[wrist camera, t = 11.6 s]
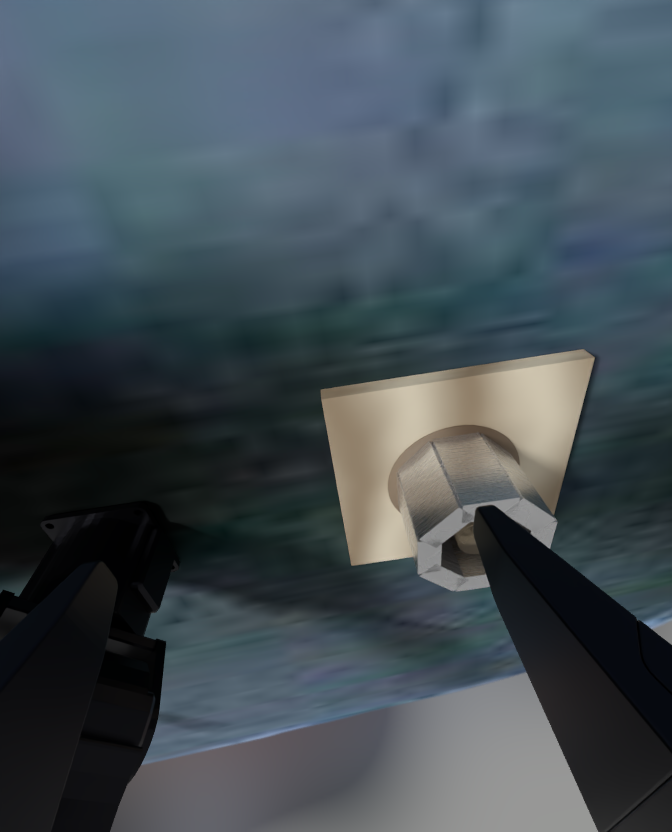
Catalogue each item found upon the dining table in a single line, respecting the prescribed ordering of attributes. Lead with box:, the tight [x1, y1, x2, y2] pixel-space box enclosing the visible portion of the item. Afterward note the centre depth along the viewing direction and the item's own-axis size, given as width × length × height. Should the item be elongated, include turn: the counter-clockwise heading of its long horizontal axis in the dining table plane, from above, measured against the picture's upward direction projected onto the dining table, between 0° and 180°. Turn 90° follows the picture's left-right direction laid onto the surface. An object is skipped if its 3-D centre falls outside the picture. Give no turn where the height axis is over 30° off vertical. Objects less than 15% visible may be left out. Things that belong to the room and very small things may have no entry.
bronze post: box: [454, 522, 479, 554], centre depth 22 cm, size 2×2×4 cm
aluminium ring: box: [396, 432, 557, 591], centre depth 22 cm, size 7×7×5 cm
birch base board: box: [321, 349, 595, 566], centre depth 24 cm, size 14×14×1 cm
